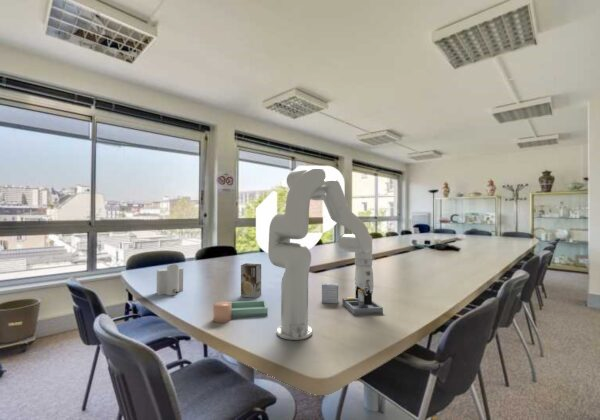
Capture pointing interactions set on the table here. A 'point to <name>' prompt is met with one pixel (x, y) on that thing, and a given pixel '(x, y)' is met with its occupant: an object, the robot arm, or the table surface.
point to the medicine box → (329, 292)
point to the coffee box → (250, 280)
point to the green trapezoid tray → (249, 308)
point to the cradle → (352, 306)
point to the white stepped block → (170, 280)
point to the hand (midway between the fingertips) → (363, 301)
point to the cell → (361, 299)
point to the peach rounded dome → (222, 312)
